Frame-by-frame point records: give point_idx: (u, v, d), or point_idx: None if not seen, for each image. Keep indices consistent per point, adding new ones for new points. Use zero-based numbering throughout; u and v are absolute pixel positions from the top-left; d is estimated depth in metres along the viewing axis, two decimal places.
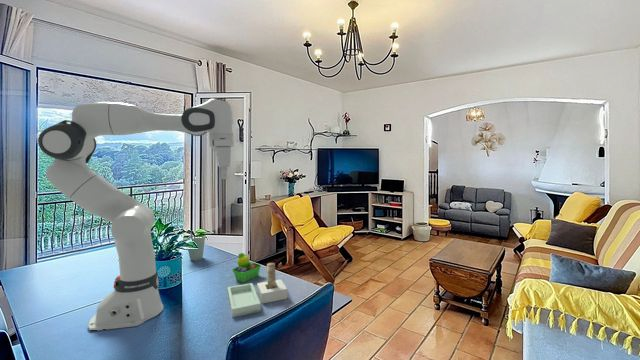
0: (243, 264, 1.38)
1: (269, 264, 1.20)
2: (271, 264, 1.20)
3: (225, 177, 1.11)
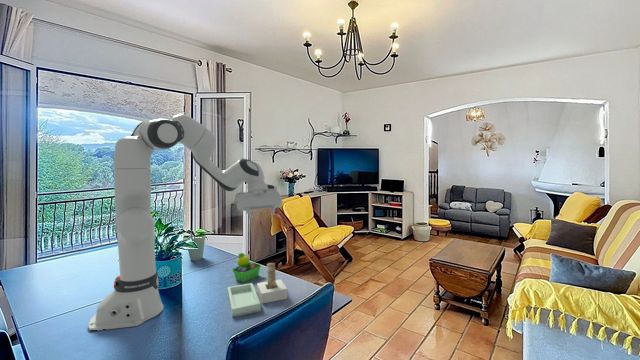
0: (243, 264, 1.38)
1: (269, 264, 1.20)
2: (271, 264, 1.20)
3: None
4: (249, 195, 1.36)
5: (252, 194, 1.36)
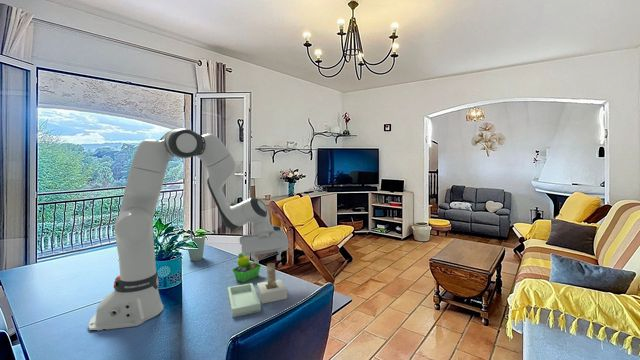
0: (243, 264, 1.38)
1: (269, 264, 1.20)
2: (271, 264, 1.20)
3: None
4: (254, 238, 1.29)
5: (257, 237, 1.29)
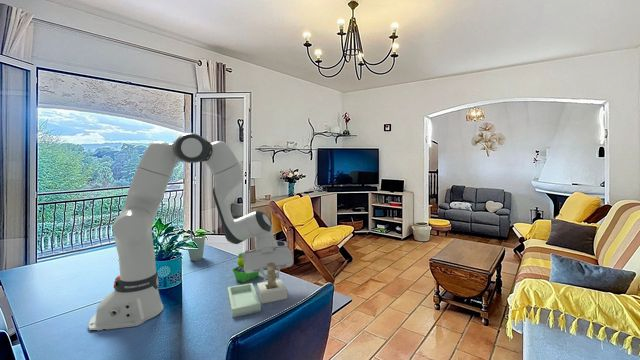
0: (243, 264, 1.38)
1: (269, 264, 1.20)
2: (271, 264, 1.20)
3: None
4: (257, 254, 1.23)
5: (260, 253, 1.24)
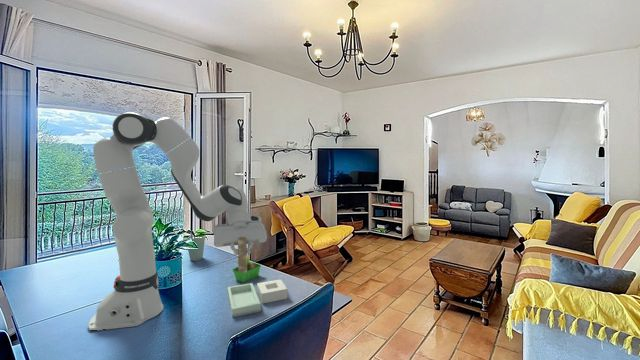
0: None
1: (240, 238, 1.14)
2: (242, 238, 1.14)
3: None
4: (229, 228, 1.17)
5: (232, 227, 1.18)
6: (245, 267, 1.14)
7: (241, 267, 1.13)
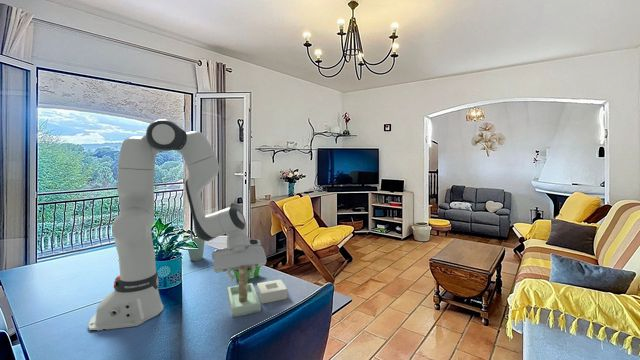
0: None
1: (241, 267, 1.15)
2: (243, 267, 1.15)
3: None
4: (228, 253, 1.18)
5: (231, 252, 1.18)
6: (246, 296, 1.15)
7: (241, 296, 1.14)
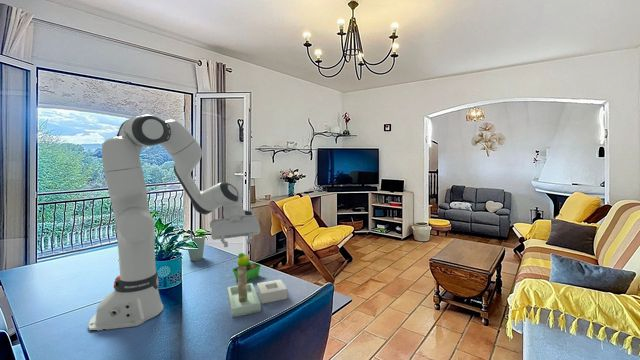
0: (243, 264, 1.38)
1: (240, 267, 1.14)
2: (242, 267, 1.14)
3: (250, 242, 1.28)
4: (225, 222, 1.29)
5: (228, 221, 1.30)
6: (245, 296, 1.15)
7: (241, 296, 1.14)
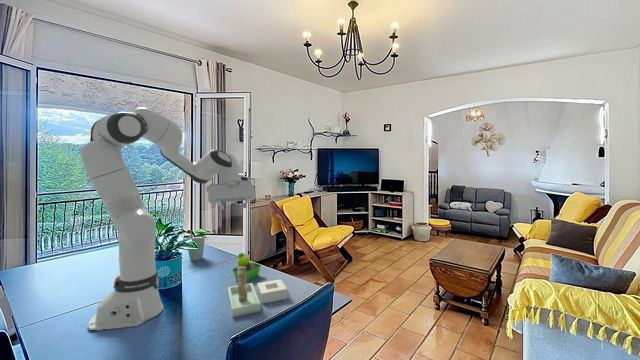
0: (243, 264, 1.38)
1: (240, 267, 1.15)
2: (242, 267, 1.14)
3: (246, 206, 1.31)
4: (221, 187, 1.31)
5: (224, 186, 1.32)
6: (245, 296, 1.15)
7: (241, 296, 1.14)
